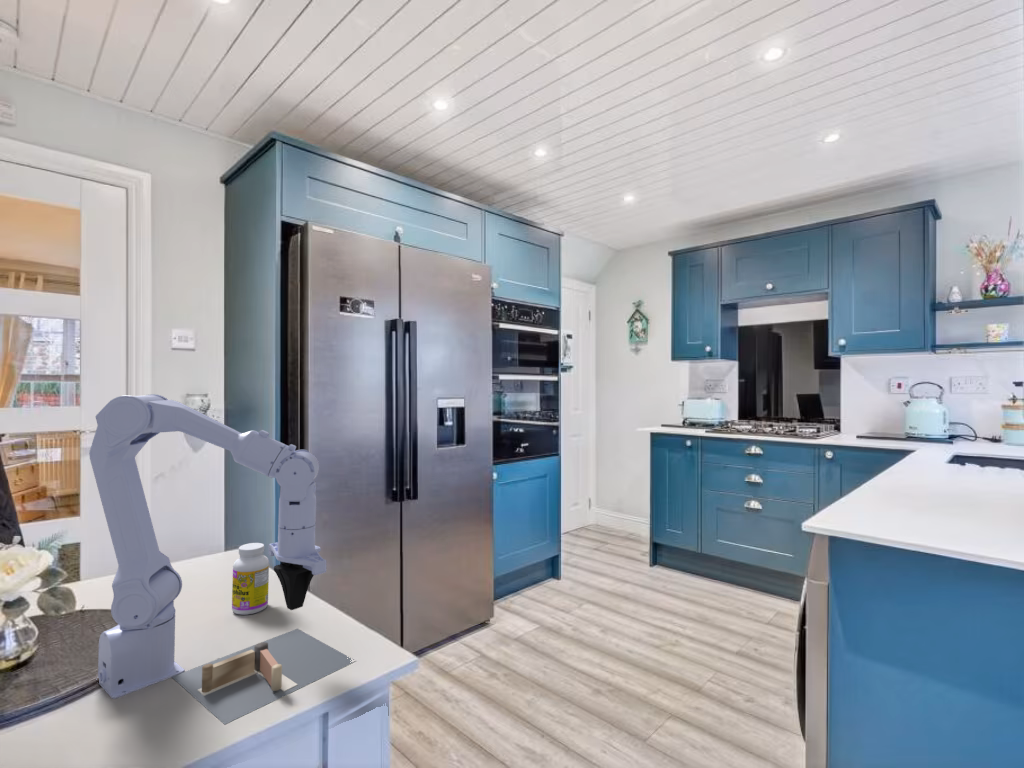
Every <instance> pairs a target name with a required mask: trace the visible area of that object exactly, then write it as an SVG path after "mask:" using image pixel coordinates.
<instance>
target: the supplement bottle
mask: <svg viewBox="0 0 1024 768" xmlns="http://www.w3.org/2000/svg"><path fill="white" fill-rule="evenodd" d="M264 552H265V544H264V543H261V542H249V543H246V544H245V543H244V544H242V545H240V546H239V547H238V555H239V558H237V559H236V560H235V561H234V563H233V565H232V588H231V589H232V591H231V592H232V593H231V610H232V612H233V613H234V614H236V615H239V616H240V615H242V616H243V615H244V616H247V615H248V616H249V615H253V614H257V613H259V612H262V611H263V610H265V609H266V608H267V607H268V604H269V582H270V581H269V578H270V577H269V576H270V560H269V558H268V556H266V555H265V554H264Z"/></svg>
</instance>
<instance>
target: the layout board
mask: <svg viewBox="0 0 1024 768" xmlns="http://www.w3.org/2000/svg"><path fill="white" fill-rule="evenodd" d="M262 642H266V643H268V651H269V652H270V654H271V655H272V656H273V658H274V659H275V660H276V662H277V663H278V664H281V665H282V687H281V689H279V690H277V691H273V690H271V686H270V684H269V683H268V681H267V680H266V678H265V677H264V675H263V674H262V672H261V671H260V670H259V671H258V670H254V672H252V673H250V674H248V675H245V676H243V677H240V678H238V679H236V680H233V681H231V682H229V683H226V684H224V685H222V686H219V687H217V688H214V689H212V690H211V691H209V692H202V667H203V666H204V665H206V664H215V663H218V662H221V661H223V660H226V659H228V658H231V657H233V656H236V655H239V654H241V653H244V652H246V651H249V650H251V649H252V650H253V651H254V646H255V645H256V644H254V645H251V646H248V647H246V648H242V649H241V650H238V651H235V652H233V653H229V654H228V655H225V656H221V657H220V658H216V659H215V660H211V661H209V662H206V663H204V664H202V665H198V666H196V667H194V668H190V669H187V670H185V671H184V672H183V673H180V674H177V675H175V676H172V677H171V679H173V680H174V681H175V682H176V683H177V684H179V685H180V686H181V687H182V688H183V689H184V690H185V691H186V692H187V693H188V694H190V695H191V696H192V697H193V698H194V699H196V701H198V703H200V704H201V705H202V706H203V707H204V708H205V709H206V710H207V711H209V713H211V714H212V715H213V716H214V717H215V718H217V719H218V720H219V721H220V722H221V723H223V725H227V724H229V723H231V722H234V721H235V720H237V719H239V718H242V717H244V716H246V715H248V714H250V713H252V712H254V711H257V710H258V709H260V708H262V707H265V706H266V705H269V704H271V703H273V702H275V701H276V700H279V699H281V698H284V697H285V696H287V695H289V694H292V693H293V692H295V691H297V690H300V689H302V688H304V687H306V686H308V685H310V684H313V683H314V682H317V681H318V680H321V679H322V678H325V677H327V676H328V675H331V674H333V673H334V672H335V673H336V672H338V671H339V670H341V669H343V668H345V667H347V665H348V666H349V664H350V665H351V663H352V662H351V661H352V660H351V658H352V657H350V656H348V655H346V654H344V653H343V652H341V651H339V650H337V649H335V648H334V647H332V646H331V645H328V644H327V643H325V642H322V641H321V640H319V639H317V638H315V637H314V636H312V635H310V634H308V633H306V632H305V631H303V630H301V629H299V628H296V629H291V630H290V631H287V632H285V633H282V634H279V635H276V636H275V637H272V638H269V639H267V640H264V641H261V642H260V643H262ZM347 656H348V657H347ZM349 657H350V658H349ZM347 658H348V659H347ZM352 659H353V658H352ZM350 660H351V661H350ZM353 660H355V659H353ZM350 662H351V663H350ZM352 664H353V663H352Z"/></svg>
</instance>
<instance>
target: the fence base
mask: <svg viewBox="0 0 1024 768" xmlns="http://www.w3.org/2000/svg"><path fill="white" fill-rule="evenodd" d="M261 642H262V643H261ZM261 642H258V643H256V644H254V645H255V646H254V651H253V650H252V649H251V650H249V651H246V652H244V653H241V654H239V655H236V656H233V657H231V658H228V659H226V660H223V661H221V662H218V663H215V664H206V663H205V664H206V665H204V664H203V665H204V666H203V667H202V692H209V691H211V690H212V689H214V688H217V687H219V686H222V685H224V684H226V683H229V682H231V681H233V680H236V679H238V678H240V677H243V676H245V675H248V674H250V673H252V672H254V670H258V671H259V670H260V651H262V650H265V649H267V650H268V643H266V642H264V641H261Z"/></svg>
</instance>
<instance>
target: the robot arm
mask: <svg viewBox="0 0 1024 768" xmlns="http://www.w3.org/2000/svg"><path fill="white" fill-rule="evenodd" d="M95 420H96V424H97V426H96V430H95V433H94V437H93V439H92V442H91V446H90V450H89V454H88V455H89V460H90V464H91V468H92V472H93V475H94V479H95V482H96V486H97V492H98V495H99V497H100V501H101V505H102V508H103V512H104V517H105V520H106V523H107V524H106V525H107V527H108V531H109V535H110V538H111V542H112V547H113V550H114V554H115V557H116V561H117V564H118V567H117V570H116V572H115V576H114V578H113V581H112V584H111V588H112V592H113V599H112V602H111V606H110V613H111V616H112V617H111V618H113V620H114V622H115V623H116V624H117V625H115V626H114V627H112V628H110V629H107V630H104V631H102V632H101V633H100V636H99V640H98V654H97V655H98V657H97V658H98V659H97V660H98V661H97V662H98V664H97V667H98V668H97V678H99V683H98V684H99V685H100V686H101V688H102V689H103V691H105V693H106V694H108V696H109V697H110V698H111V699H119V698H120V697H123V696H126V695H129V694H131V693H133V692H136V691H140V690H141V689H144V688H147V687H149V686H152V685H154V684H157V683H160V682H163V681H165V680H168V679H170V678H172V676H175V675H177V674H180V673H183V672H185V671H186V670H185V668H183V666H181V665H180V664H178V663H177V662H176V661H175V651H176V650H175V646H176V643H175V642H176V639H175V638H176V608H175V604H174V603H175V600H176V599H177V597H179V595H180V594H181V592H182V588H183V581H182V577H181V575H180V573H178V572H177V570H175V569H174V568H173V566H172V563H171V560H170V557H168V555H166V554H165V553H163V552H161V550H160V548H159V545H158V541H157V536H156V533H155V529H154V526H153V525H154V524H153V521H152V518H151V514H150V513H151V512H150V511H149V506H148V503H147V499H146V495H145V491H144V488H143V487H144V486H143V483H142V479H141V476H140V473H139V472H140V471H139V468H138V465H137V460H136V456H137V455H138V454H139V452H140V451H141V450H142V449H143V448H144V446H145V445H146V444H147V443H148V442H149V441H150V440H151V439H152V438H154V437H156V436H157V435H159V434H161V433H171V432H173V433H174V432H181V433H183V434H186V435H189V436H191V437H194V438H196V439H199V440H201V441H203V442H206V443H208V444H209V443H210V444H211V445H214V446H217V447H219V448H222V449H224V450H227V451H229V452H230V454H231V456H232V459H233V461H234V462H235V463H236V464H239V465H241V466H243V467H245V468H248V469H250V470H252V471H254V472H257V473H259V474H261V475H264V476H266V477H268V478H270V479H275V480H276V482H277V484H278V485H279V487H280V488H279V500H278V524H277V526H278V529H277V531H278V533H277V541H276V542H272V543H269V544H268V556H270V557H274V556H275V558H276V561H278V562H281V563H279V564H276V565H274V567H273V571H274V573H275V574H276V576H277V578H278V580H279V582H280V585H281V588H282V592H283V595H284V602H285V604H286V608H287V609H288V610H289V611H294V610H297V609H300V608H303V606H304V603H305V599H306V596H307V592H308V589H309V586H310V583H311V581H312V580H313V578H314V576H319V575H322V574H324V573H327V559H325V558H323V557H322V556H321V554H320V552H321V551H322V550H321V549H322V548H321V547H320V546H319V545H316V528H317V527H316V523H317V522H316V519H317V495H316V492H317V486H316V485H317V484H316V481H315V479H316V478H317V476H318V474H319V470H320V463H319V462H320V461H319V460H318V458H317V457H316V455H314V453H311V452H310V451H309V450H307V449H297V450H296V448H297V446H296V445H295V444H292V443H291V444H289V445H287V444H285V443H283V442H281V441H279V440H276V439H274V438H272V437H270V432H268V431H267V430H264V429H261V430H259V431H257V430H254V429H253V430H252V429H251V430H249V431H246V432H240V431H238V430H236V429H235V428H232V427H230V426H228V425H226V424H224V423H223V422H220V421H218V420H216V419H214V418H212V417H210V416H209V415H206V414H204V413H203V412H200V411H198V410H196V409H195V408H192V407H190V406H188V405H186V404H184V403H182V402H180V401H178V400H174V399H168V398H167V397H165V396H163V395H160V394H156V393H152V394H146V395H145V394H144V395H128V394H127V395H125V394H124V395H120V396H116V397H115V398H112V399H111V400H110V401H108V403H107V404H106V405H105V406H104V407H103V408H102V409H101V410H100V411H99V412H98V413H97V414H96V415H95Z"/></svg>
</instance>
